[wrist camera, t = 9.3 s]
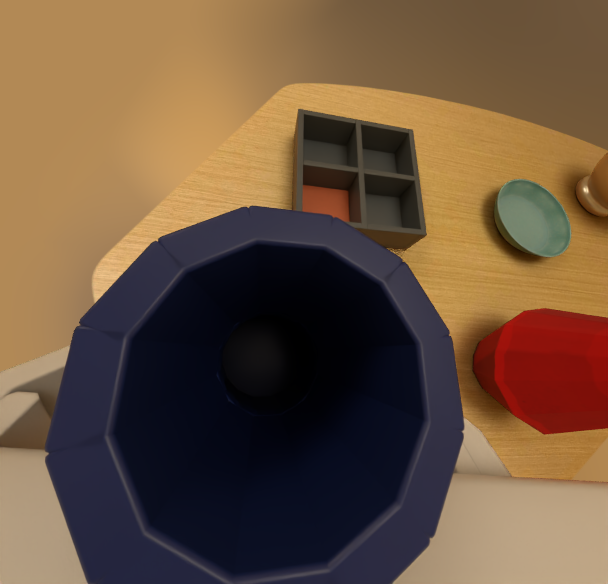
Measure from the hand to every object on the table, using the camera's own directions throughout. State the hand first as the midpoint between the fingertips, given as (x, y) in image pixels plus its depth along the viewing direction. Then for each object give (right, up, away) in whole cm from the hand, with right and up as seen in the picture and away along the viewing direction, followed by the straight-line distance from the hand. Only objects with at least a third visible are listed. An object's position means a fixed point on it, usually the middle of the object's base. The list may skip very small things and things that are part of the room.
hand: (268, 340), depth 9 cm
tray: (+9, +18, +28) cm, 34 cm away
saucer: (+40, +14, +33) cm, 54 cm away
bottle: (+30, -9, +26) cm, 40 cm away
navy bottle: (-2, -3, +8) cm, 9 cm away
